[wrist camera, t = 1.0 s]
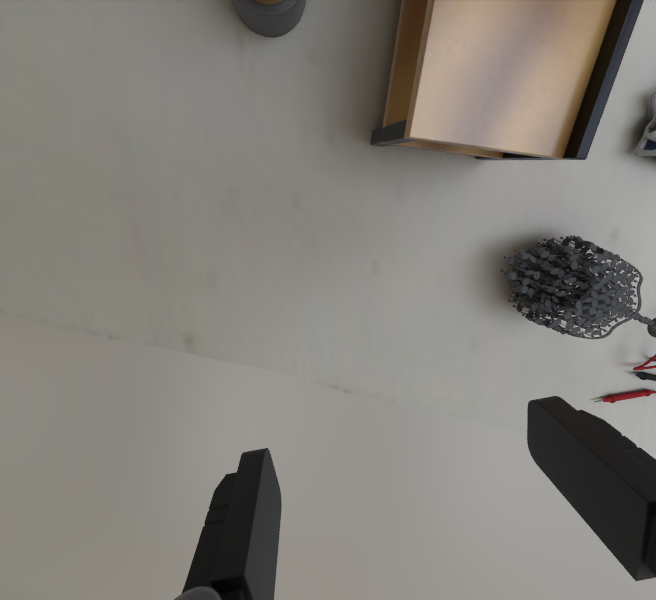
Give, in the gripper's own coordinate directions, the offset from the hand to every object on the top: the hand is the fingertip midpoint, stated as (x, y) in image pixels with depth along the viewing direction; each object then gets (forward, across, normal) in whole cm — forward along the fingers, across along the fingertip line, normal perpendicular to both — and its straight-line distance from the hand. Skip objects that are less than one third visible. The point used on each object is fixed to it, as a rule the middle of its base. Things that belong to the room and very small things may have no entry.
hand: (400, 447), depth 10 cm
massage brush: (+29, -26, +7) cm, 40 cm away
